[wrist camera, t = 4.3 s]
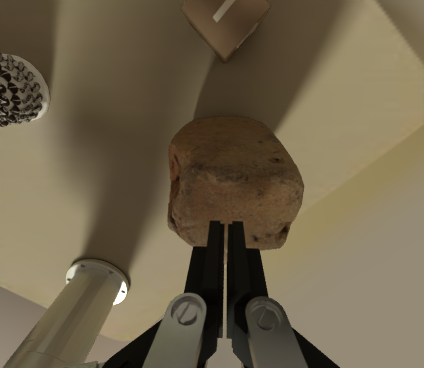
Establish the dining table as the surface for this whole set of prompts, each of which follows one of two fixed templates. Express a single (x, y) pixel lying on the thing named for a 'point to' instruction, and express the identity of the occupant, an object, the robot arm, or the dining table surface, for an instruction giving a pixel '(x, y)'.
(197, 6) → the walnut cube
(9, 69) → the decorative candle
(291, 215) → the block
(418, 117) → the dining table surface
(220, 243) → the robot arm
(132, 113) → the dining table surface
